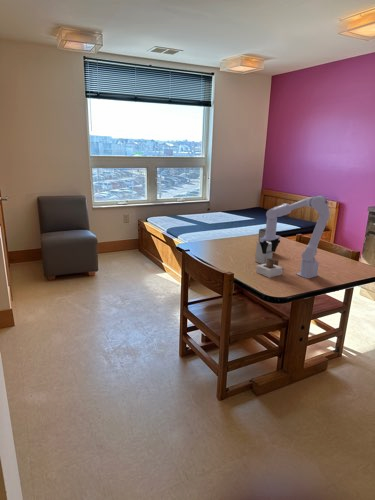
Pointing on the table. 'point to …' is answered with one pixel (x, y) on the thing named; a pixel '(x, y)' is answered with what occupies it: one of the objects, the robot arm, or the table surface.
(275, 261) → the short pin
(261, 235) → the coffee box
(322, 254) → the table surface
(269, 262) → the brown rounded cylinder
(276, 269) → the hole block
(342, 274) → the table surface
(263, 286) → the table surface
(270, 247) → the supplement box
